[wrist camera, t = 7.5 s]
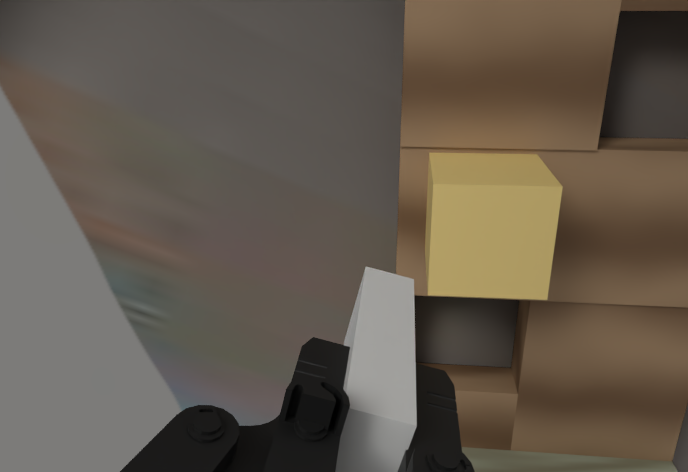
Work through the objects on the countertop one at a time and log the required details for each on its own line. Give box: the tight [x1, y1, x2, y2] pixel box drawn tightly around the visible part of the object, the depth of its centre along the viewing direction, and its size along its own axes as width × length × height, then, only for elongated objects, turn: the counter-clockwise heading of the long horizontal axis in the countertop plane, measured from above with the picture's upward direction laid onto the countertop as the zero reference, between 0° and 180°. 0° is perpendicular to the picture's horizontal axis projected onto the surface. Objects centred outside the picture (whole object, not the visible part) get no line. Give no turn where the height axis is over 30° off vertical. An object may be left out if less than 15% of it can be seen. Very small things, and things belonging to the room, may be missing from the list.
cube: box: [425, 153, 563, 300], centre depth 26 cm, size 5×5×5 cm
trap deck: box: [396, 0, 688, 472], centre depth 29 cm, size 26×16×6 cm, turn 0°
